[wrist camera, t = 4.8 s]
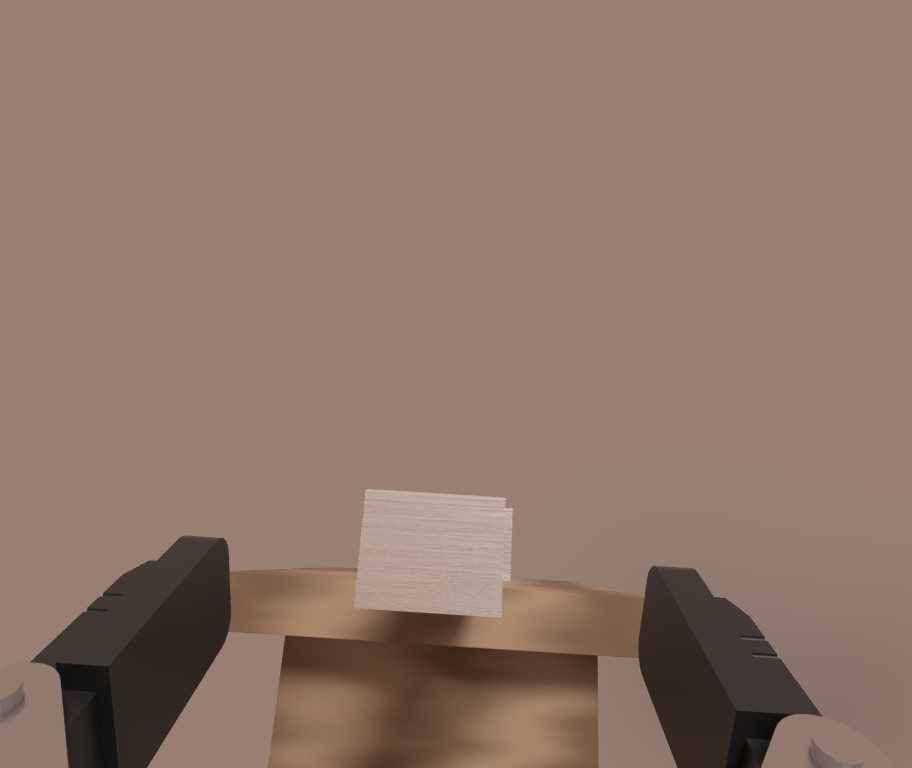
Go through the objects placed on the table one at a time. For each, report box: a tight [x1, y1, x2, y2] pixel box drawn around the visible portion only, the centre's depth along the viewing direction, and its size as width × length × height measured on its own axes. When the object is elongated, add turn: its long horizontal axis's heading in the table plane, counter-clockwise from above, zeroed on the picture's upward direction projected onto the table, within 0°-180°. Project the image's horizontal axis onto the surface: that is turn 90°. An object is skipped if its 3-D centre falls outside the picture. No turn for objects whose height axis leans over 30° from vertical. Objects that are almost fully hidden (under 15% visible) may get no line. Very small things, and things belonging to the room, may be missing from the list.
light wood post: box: [354, 489, 513, 618], centre depth 26 cm, size 7×32×4 cm, turn 0°
